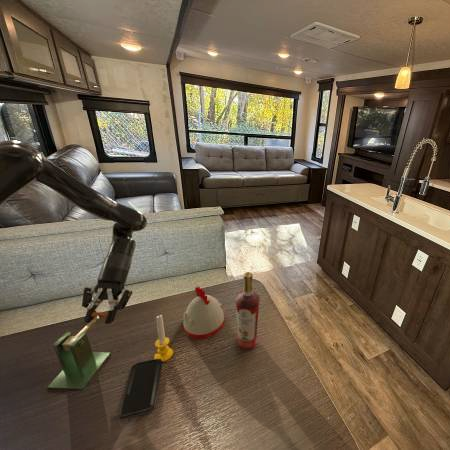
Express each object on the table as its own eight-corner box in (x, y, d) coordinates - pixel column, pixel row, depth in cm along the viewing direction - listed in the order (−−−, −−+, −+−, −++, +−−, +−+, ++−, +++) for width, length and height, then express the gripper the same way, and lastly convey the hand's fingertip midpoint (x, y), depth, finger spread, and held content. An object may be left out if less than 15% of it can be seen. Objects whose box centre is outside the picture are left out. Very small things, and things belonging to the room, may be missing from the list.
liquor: (233, 351, 81) (231, 280, 70) (240, 333, 88) (239, 266, 77) (255, 353, 81) (257, 283, 70) (260, 335, 87) (262, 269, 76)
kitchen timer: (211, 304, 99) (209, 273, 94) (231, 323, 91) (231, 290, 86) (176, 322, 89) (172, 289, 84) (196, 345, 81) (192, 310, 76)
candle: (150, 358, 76) (144, 316, 71) (165, 346, 80) (161, 306, 75) (162, 365, 74) (157, 323, 69) (176, 352, 78) (173, 312, 73)
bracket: (80, 354, 75) (69, 322, 70) (111, 355, 76) (102, 323, 71) (47, 390, 65) (31, 356, 60) (83, 391, 66) (70, 357, 61)
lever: (95, 315, 77) (93, 309, 76) (111, 316, 78) (110, 310, 77) (58, 350, 65) (56, 344, 64) (78, 351, 65) (76, 344, 64)
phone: (162, 357, 75) (153, 408, 62) (162, 360, 76) (154, 411, 63) (132, 364, 72) (116, 418, 60) (132, 366, 73) (117, 421, 60)
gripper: (85, 264, 78) (63, 322, 71) (132, 267, 78) (115, 324, 72) (100, 269, 85) (82, 322, 78) (144, 271, 85) (129, 324, 79)
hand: (98, 323), depth 75 cm, fingers closed on lever, 5 cm apart
